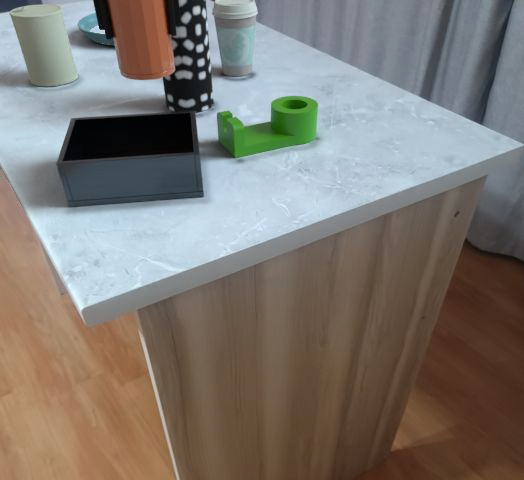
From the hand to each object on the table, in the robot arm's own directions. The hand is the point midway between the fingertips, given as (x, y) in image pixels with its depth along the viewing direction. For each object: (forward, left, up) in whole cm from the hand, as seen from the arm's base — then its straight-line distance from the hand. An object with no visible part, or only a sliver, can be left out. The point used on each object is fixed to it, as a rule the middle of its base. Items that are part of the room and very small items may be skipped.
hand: (142, 33), depth 62 cm
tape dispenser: (+17, +7, -17) cm, 25 cm away
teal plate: (-7, +71, -17) cm, 74 cm away
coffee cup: (+15, +40, -17) cm, 46 cm away
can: (-21, +42, -17) cm, 50 cm away
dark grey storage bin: (-3, -2, -17) cm, 17 cm away
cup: (0, 0, -4) cm, 4 cm away
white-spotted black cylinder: (+5, +24, -17) cm, 30 cm away
